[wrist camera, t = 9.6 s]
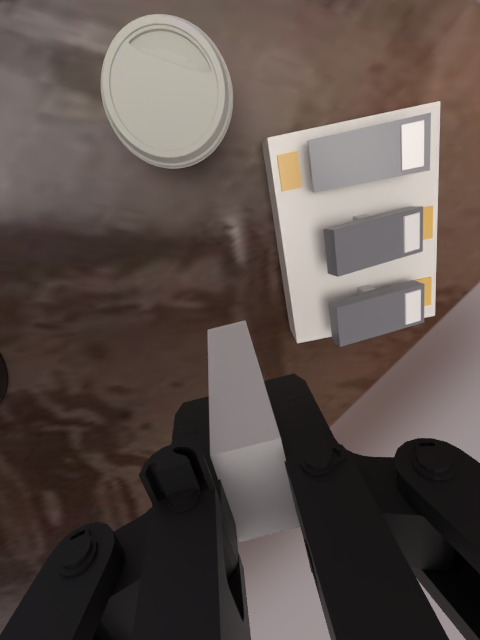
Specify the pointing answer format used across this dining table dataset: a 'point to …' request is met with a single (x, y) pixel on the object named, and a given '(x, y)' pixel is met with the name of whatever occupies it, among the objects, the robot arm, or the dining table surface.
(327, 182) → the switch
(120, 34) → the coffee cup
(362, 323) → the switch
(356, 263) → the switch
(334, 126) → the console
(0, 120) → the dining table surface
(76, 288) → the dining table surface
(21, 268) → the dining table surface
